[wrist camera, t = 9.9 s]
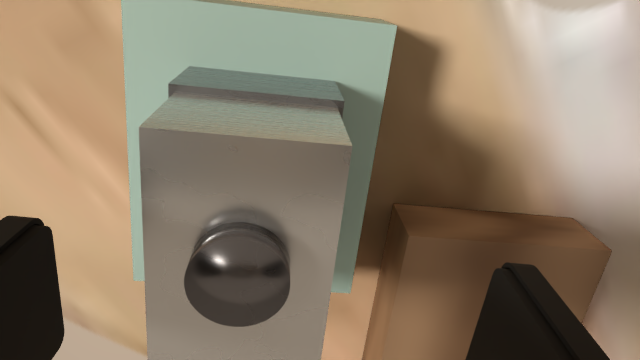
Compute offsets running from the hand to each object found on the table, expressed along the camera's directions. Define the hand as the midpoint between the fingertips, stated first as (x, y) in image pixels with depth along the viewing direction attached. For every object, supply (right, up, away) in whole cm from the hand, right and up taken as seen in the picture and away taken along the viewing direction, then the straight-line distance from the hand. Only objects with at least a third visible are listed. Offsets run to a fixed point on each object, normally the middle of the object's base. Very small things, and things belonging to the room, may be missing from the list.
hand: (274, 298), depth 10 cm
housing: (-1, +3, +7) cm, 8 cm away
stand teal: (-2, +4, +10) cm, 11 cm away
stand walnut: (+8, -4, +14) cm, 17 cm away
